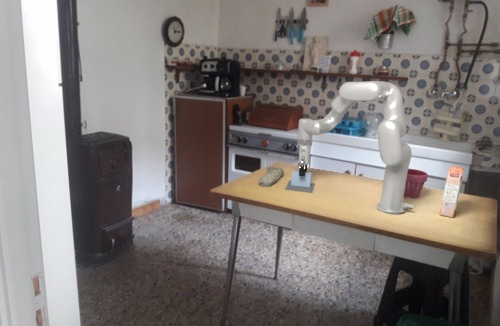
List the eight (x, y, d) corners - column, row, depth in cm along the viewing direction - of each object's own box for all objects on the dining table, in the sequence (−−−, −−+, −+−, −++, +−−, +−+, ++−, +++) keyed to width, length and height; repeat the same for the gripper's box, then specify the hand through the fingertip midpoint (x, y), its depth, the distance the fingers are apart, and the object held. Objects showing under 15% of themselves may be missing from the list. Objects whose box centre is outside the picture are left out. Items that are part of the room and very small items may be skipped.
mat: (314, 184, 212) (314, 183, 212) (312, 192, 197) (312, 192, 197) (289, 181, 215) (289, 180, 215) (284, 189, 200) (285, 188, 200)
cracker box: (454, 218, 171) (462, 173, 166) (439, 215, 174) (447, 170, 169) (456, 210, 183) (464, 167, 178) (442, 207, 186) (450, 165, 181)
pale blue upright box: (310, 185, 209) (311, 172, 207) (309, 187, 205) (311, 174, 203) (292, 183, 211) (293, 170, 209) (291, 185, 207) (292, 172, 205)
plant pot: (400, 199, 194) (404, 174, 191) (390, 190, 208) (393, 167, 205) (428, 200, 195) (433, 176, 192) (416, 192, 208) (420, 169, 205)
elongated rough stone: (254, 188, 205) (272, 191, 202) (255, 179, 203) (273, 182, 201) (270, 169, 237) (286, 172, 234) (271, 161, 235) (287, 164, 233)
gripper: (310, 145, 193) (308, 178, 197) (313, 140, 210) (311, 171, 213) (295, 144, 195) (293, 177, 199) (299, 139, 211) (297, 169, 215)
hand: (302, 173), depth 206 cm, fingers open, 9 cm apart
